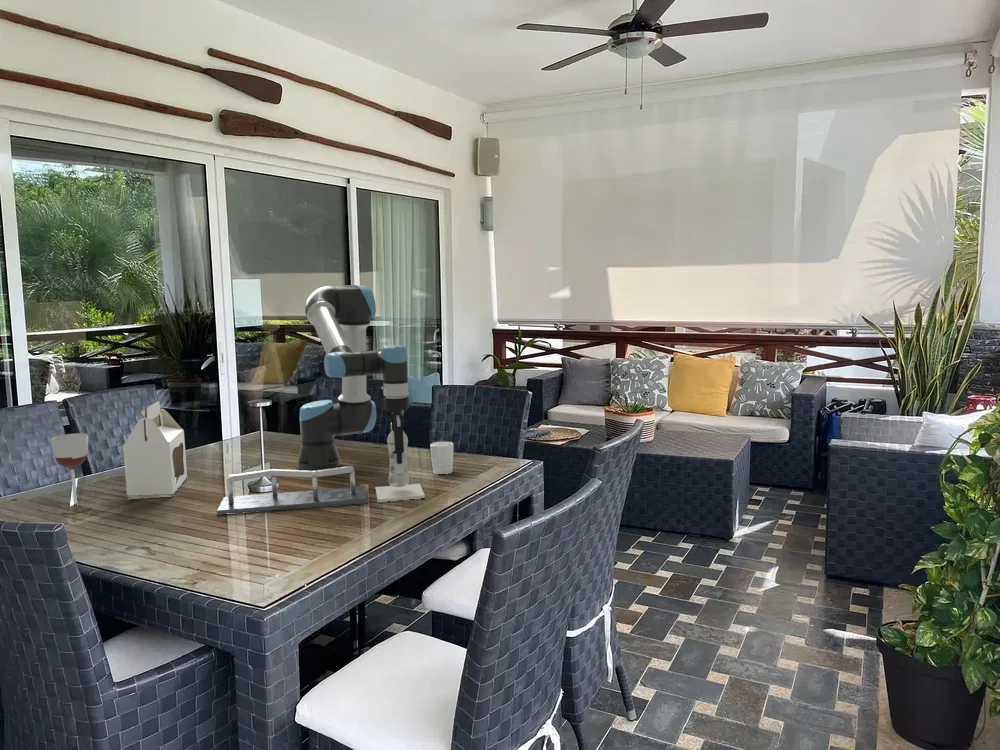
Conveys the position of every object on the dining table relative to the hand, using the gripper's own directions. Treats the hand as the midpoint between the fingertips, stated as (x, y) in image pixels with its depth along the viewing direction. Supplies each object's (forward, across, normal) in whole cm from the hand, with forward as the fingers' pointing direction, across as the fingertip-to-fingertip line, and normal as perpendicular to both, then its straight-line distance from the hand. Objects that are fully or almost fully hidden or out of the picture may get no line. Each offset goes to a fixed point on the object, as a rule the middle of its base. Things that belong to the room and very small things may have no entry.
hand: (398, 470), depth 226 cm
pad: (+7, 0, 0) cm, 7 cm away
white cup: (+8, -23, +17) cm, 29 cm away
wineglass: (+8, -11, -94) cm, 95 cm away
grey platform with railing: (+7, 0, -31) cm, 32 cm away
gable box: (+8, -28, -75) cm, 80 cm away
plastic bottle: (+5, 0, 0) cm, 5 cm away
